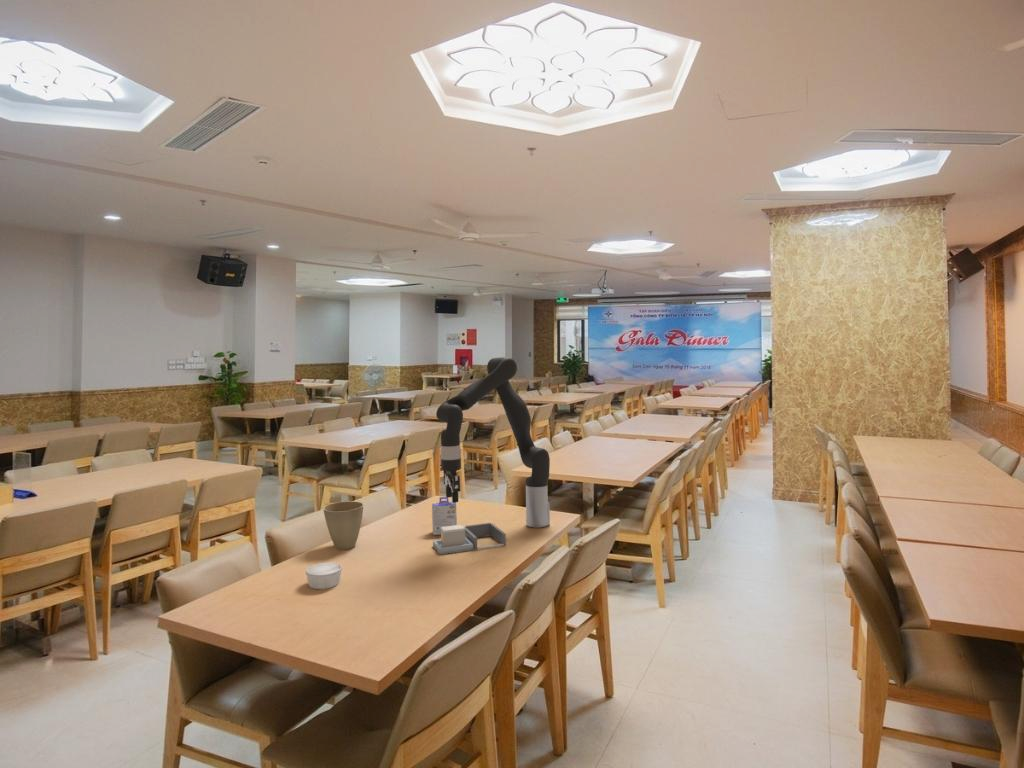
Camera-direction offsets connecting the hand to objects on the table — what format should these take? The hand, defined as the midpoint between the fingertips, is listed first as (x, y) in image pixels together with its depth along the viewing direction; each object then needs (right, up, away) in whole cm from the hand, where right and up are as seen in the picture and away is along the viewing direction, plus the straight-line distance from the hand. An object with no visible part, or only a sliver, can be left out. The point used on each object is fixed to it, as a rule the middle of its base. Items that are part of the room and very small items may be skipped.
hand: (452, 499), depth 222 cm
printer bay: (+12, -18, +7) cm, 23 cm away
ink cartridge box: (-5, -18, +20) cm, 28 cm away
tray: (0, -19, +1) cm, 19 cm away
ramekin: (-38, -22, -31) cm, 54 cm away
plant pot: (-42, -19, +5) cm, 46 cm away
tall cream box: (0, -18, +1) cm, 18 cm away
